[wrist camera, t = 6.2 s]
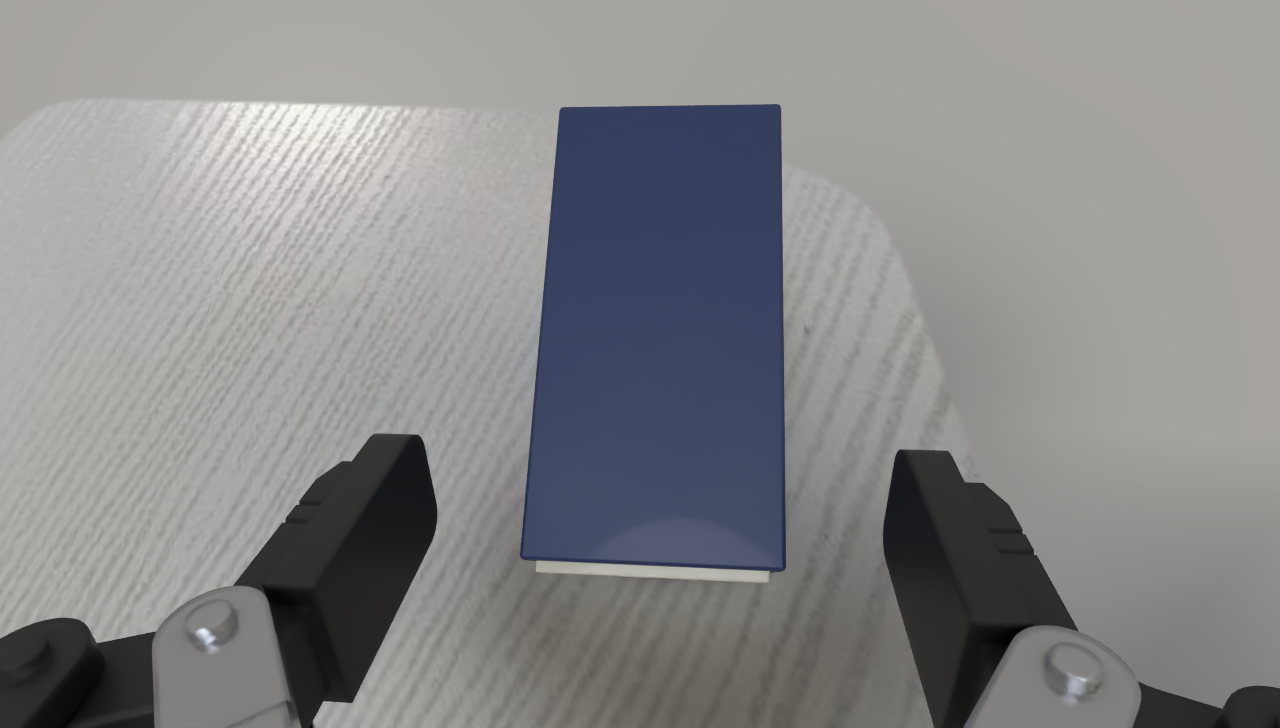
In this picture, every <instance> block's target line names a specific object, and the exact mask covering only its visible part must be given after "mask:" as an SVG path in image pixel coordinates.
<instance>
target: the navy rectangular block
mask: <svg viewBox="0 0 1280 728" xmlns="http://www.w3.org/2000/svg"><path fill="white" fill-rule="evenodd" d="M781 156H782V151H781V107H780V105H777V104H769V105H767V104H765V105H699V106H697V105H694V106H625V107H563V108H561V109H560V112H559V123H558V135H557V146H556V157H555V168H554V180H553V191H552V202H551V213H550V225H549V236H548V247H547V258H546V270H545V281H544V292H543V303H542V315H541V326H540V337H539V348H538V360H537V371H536V382H535V393H534V405H533V416H532V427H531V438H530V449H529V461H528V472H527V483H526V494H525V506H524V517H523V528H522V539H521V551H520V556H521V558H522V559H524V560H531V561H536V568H535V571H536V572H537V573H557V574H578V575H599V576H620V577H641V578H662V579H683V580H703V581H724V582H745V583H766V584H768V583H770V572H782V571H784V570H785V568H786V519H785V427H784V335H783V243H782V157H781Z"/></svg>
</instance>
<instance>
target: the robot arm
mask: <svg viewBox="0 0 1280 728" xmlns="http://www.w3.org/2000/svg"><path fill="white" fill-rule="evenodd" d="M436 524H437V504H436V499H435V494H434V489H433V484H432V479H431V475H430V470H429V465H428V460H427V455H426V450H425V446H424V442H423V440H422V438H421V437H420V436H419V435H412V434H373V435H372V436H371V437H370V438H369V439H368V440H367V442H366V443H365V444H364V446H363V447H362V448H361V450H360V451H359V453H358V454H357V455H356V457H355V458H354V459H353V461H352V462H349V461H342V462H340V463H339V464H338V465H336V466H335V467H333V468H332V469H330V470H329V471H328V472H326V473H325V474H323V475H322V476H320V477H319V478H318V479H316V480H315V482H314V483H313V484H312V485H311V487H310V488H309V489H308V491H307V492H306V493H305V494H304V496H303V497H302V498H301V500H300V504H299V505H296V506H295V507H294V508H293V510H292V511H291V512H290V514H289V515H288V516H287V517H286V522H285V523H282V524H281V525H280V526H279V528H278V529H277V530H276V531H275V533H274V534H273V535H272V537H271V538H270V539H269V540H268V542H267V543H266V544H265V546H264V547H263V548H262V549H261V551H260V552H259V553H258V555H257V556H256V557H255V558H254V560H253V561H252V562H251V563H250V565H249V566H248V567H247V569H246V570H245V571H244V572H243V574H242V575H241V576H240V578H239V579H238V580H237V581H236V583H235V584H234V585H233V586H229V587H223V588H219V589H215V590H212V591H209V592H206V593H204V594H202V595H199V596H197V597H195V598H193V599H192V600H190V601H188V602H186V603H185V604H183V605H182V606H180V607H179V608H178V609H177V610H175V611H174V612H173V613H172V614H171V615H170V616H169V617H168V618H167V619H166V620H165V621H164V622H163V623H162V624H161V626H160V627H159V629H158V630H157V631H156V632H151V633H146V634H141V635H136V636H131V637H127V638H122V639H117V640H112V641H107V642H102V643H96V641H95V639H94V637H93V635H92V634H91V632H90V630H89V628H88V627H87V626H86V624H85V623H83V622H81V621H80V620H77V619H73V618H55V619H49V620H44V621H41V622H37V623H34V624H31V625H28V626H26V627H23V628H21V629H19V630H16V631H14V632H12V633H10V634H8V635H7V636H5V637H3V638H1V639H0V728H316V727H315V724H314V722H313V719H314V718H315V716H316V714H317V712H318V710H319V708H320V706H321V704H322V703H323V701H331V702H346V703H352V702H353V700H354V698H355V696H356V694H357V692H358V690H359V688H360V686H361V684H362V682H363V680H364V678H365V676H366V674H367V672H368V670H369V668H370V666H371V664H372V662H373V660H374V658H375V656H376V654H377V652H378V650H379V648H380V646H381V644H382V642H383V639H384V637H385V635H386V633H387V631H388V629H389V627H390V625H391V623H392V621H393V619H394V617H395V615H396V613H397V611H398V609H399V607H400V605H401V603H402V601H403V599H404V597H405V595H406V593H407V591H408V589H409V587H410V585H411V583H412V581H413V579H414V577H415V575H416V573H417V571H418V569H419V567H420V565H421V563H422V561H423V558H424V556H425V554H426V552H427V550H428V548H429V546H430V544H431V542H432V540H433V537H434V534H435V530H436ZM883 545H884V554H885V559H886V563H887V567H888V570H889V574H890V577H891V581H892V584H893V587H894V591H895V594H896V598H897V601H898V605H899V608H900V611H901V615H902V618H903V622H904V625H905V629H906V632H907V635H908V639H909V642H910V646H911V649H912V653H913V656H914V659H915V663H916V666H917V670H918V673H919V677H920V680H921V683H922V687H923V690H924V694H925V697H926V701H927V704H928V707H929V711H930V714H931V718H932V721H933V725H934V728H1280V689H1279V688H1274V687H1268V686H1250V687H1245V688H1242V689H1239V690H1237V691H1235V692H1234V693H1232V694H1231V696H1230V697H1229V698H1228V700H1227V702H1226V704H1225V706H1224V707H1223V709H1221V708H1217V707H1214V706H1211V705H1208V704H1204V703H1201V702H1197V701H1194V700H1191V699H1187V698H1184V697H1181V696H1177V695H1174V694H1171V693H1167V692H1164V691H1161V690H1158V689H1155V688H1152V687H1149V686H1147V685H1145V684H1142V683H1140V682H1138V681H1137V679H1136V677H1135V675H1134V674H1133V672H1132V671H1131V669H1130V668H1129V667H1128V666H1127V664H1126V663H1125V662H1124V661H1123V660H1122V659H1121V658H1120V657H1119V656H1118V655H1117V654H1116V653H1114V652H1113V651H1112V650H1111V649H1110V648H1108V647H1107V646H1105V645H1104V644H1102V643H1101V642H1099V641H1097V640H1095V639H1094V638H1092V637H1089V636H1088V635H1085V634H1083V633H1081V632H1079V631H1078V629H1077V627H1076V625H1075V624H1074V622H1073V620H1072V618H1071V617H1070V615H1069V613H1068V611H1067V609H1066V607H1065V606H1064V604H1063V602H1062V600H1061V599H1060V597H1059V595H1058V593H1057V591H1056V589H1055V588H1054V586H1053V584H1052V582H1051V581H1050V578H1049V577H1048V575H1047V573H1046V571H1045V569H1044V568H1043V566H1042V564H1041V562H1040V560H1039V559H1038V557H1037V555H1034V549H1033V548H1032V546H1031V544H1030V542H1029V540H1028V539H1027V537H1026V535H1025V534H1023V533H1022V528H1021V526H1020V524H1019V522H1018V521H1017V519H1016V517H1015V515H1014V513H1013V511H1012V510H1011V508H1010V506H1009V505H1008V504H1007V503H1006V502H1005V501H1004V500H1003V499H1001V498H1000V497H999V496H998V495H997V494H996V493H994V492H993V491H992V490H991V489H990V488H989V487H987V486H986V485H985V484H984V483H965V482H964V480H963V478H962V476H961V474H960V472H959V470H958V468H957V466H956V464H955V462H954V460H953V457H952V456H951V454H950V453H949V452H948V451H935V450H899V451H898V452H897V454H896V457H895V461H894V467H893V472H892V478H891V484H890V490H889V496H888V501H887V507H886V513H885V519H884V527H883Z"/></svg>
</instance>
